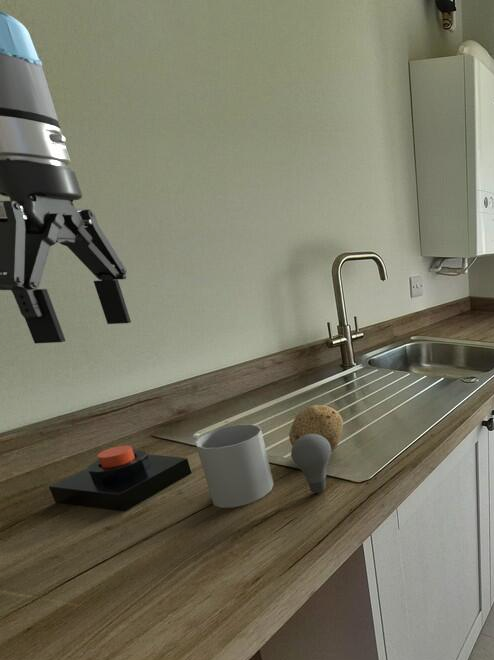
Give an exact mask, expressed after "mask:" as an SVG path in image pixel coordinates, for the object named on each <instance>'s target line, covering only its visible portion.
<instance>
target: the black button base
mask: <svg viewBox="0 0 494 660" xmlns="http://www.w3.org/2000/svg"><path fill="white" fill-rule="evenodd" d="M132 450H133V453H134V456H135V459H134V460H132V461H130V462H128V463H126V464H123V465H119V466H116V467H109V468H102V467H101V464H100V462H99V459H97V460H95V461H93V462H92V463H90V464H89V465H88V466H87V468H86V469H84V470H82V471H79V472H77V473H75V474H73V475H71V476H68V477H66V478H64V479H61V480H60V481H57V482H54V483H52V484H50V485H49V486H48V489H49V491H50V493H51V495H52V498H53V500H54V502H55V504H61V505H68V506H69V505H70V506H75V507H83V508H92V509H100V510H107V511H108V510H109V511H116V512H123V513H125V512H127V511H129V510H130V509H132V508H134V507H136V506H138V505H139V504H141V503H142V502H144V501H146V500H148V499H150V498H151V497H153V496H155V495H156V494H158V493H160V492H162V491H163V490H166V489H167V488H169V487H171V486H172V485H174V484H175V483H177V482H179V481H181V480H183V479H184V478H186V477H188V476H189V475H191V474H192V470H191V466H190V463H189V460H188V459H189V458H187V457H180V456H171V455H170V456H169V455H158V454H148V453H147V452H146V451H145V450H142V449H141V450H140V449H132Z"/></svg>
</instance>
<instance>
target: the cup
mask: <svg viewBox="0 0 494 660" xmlns="http://www.w3.org/2000/svg"><path fill="white" fill-rule="evenodd" d="M265 445H266V443H265V440H264V435H263V431H262V428H261V427H260V426H259V425H256V424H251V423H248V424H247V423H244V424H234V425H229V426H224V427H220V428H217V429H214V430H211V431H208V432H207V433H205V434H203V435H200V437H199V438H197V439H196V440H195V446H196V449H197V453H198V457H199V461H200V464H201V466H202V470H203V475H204V477H205V482H206V484H207V487H208V491H209V494H210V498H211V501H212V504H213V506H216V507H218V508H221V509H227V508H229V509H230V508H238V507H242V506H246V505H249V504H252V503H254V502H256V501H258V500H260V499H263V498H264V497H265V496H267V495H268V494H269V493H270V492H272V489H273V488H274V485H275V484H274V480H273V475H272V471H271V467H270V462H269V458H268V452H267V449H266V446H265Z"/></svg>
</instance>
